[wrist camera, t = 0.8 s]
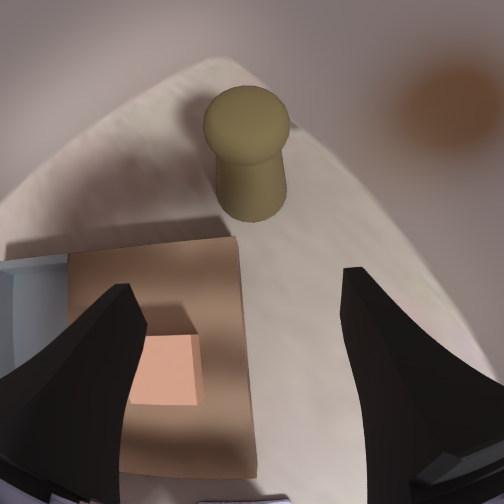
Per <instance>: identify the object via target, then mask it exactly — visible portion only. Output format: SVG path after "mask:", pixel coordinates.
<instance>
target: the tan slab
mask: <svg viewBox="0 0 504 504" xmlns="http://www.w3.org/2000/svg"><path fill="white" fill-rule="evenodd" d="M122 283H130V286H131V288H132V290H133V293H134V295H135V297H136V299H137V302H138V304H139V306H140V308H141V311H142V313H143V315H144V317H145V319H146V322H147V324H148V326H147V332H146V336H171V335H195V334H199V344H200V356H201V367H202V378H203V388H204V398H203V399H202V401H201V402H200V403H199V404H198V405H150V404H131V402H130V399H129V400H127V404H126V409H125V414H124V420H123V427H122V434H121V444H120V457H119V472H125V473H132V474H140V475H148V476H158V477H169V478H185V479H252V478H257V454H256V443H255V433H254V423H253V412H252V401H251V391H250V380H249V368H248V357H247V346H246V334H245V322H244V310H243V298H242V286H241V273H240V261H239V248H238V244H237V240H236V237H235V236H232V237H221V238H211V239H200V240H190V241H180V242H170V243H161V244H151V245H142V246H132V247H123V248H114V249H105V250H96V251H87V252H78V253H70V254H69V258H68V284H67V318H68V326H70V325H71V324H72V323H73V322H74V321H75V320H76V319H77V318H78V317H79V316H80V315H81V314H82V313H83V312H84V311H85V310H86V309H87V308H89V307H90V306H91V305H92V304H93V303H94V302H95V301H96V300H97V299H98V298H99V297H100V296H101V295H102V294H103V293H105V292H106V291H107V290H108V289H109V288H110V287H112V286H113V285H114V284H122Z"/></svg>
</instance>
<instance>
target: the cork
mask: <svg viewBox="0 0 504 504" xmlns="http://www.w3.org/2000/svg"><path fill="white" fill-rule="evenodd" d="M203 129H204V134H205V138H206V142H207V143H208V145H209V146H210V148H211V149H212V151H213V152H214V153H215V154H216V173H217V196H218V201H219V203H220V205H221V207H222V208H223V210H224V211H225V212H226V213H227V214H229V215H230V216H231V217H232V218H235V219H237V220H240V221H242V222H253V223H254V222H259V221H263V220H266V219H268V218H270V217H272V216H273V215H275V214H276V213H277V212H278V211H279V210H280V209H281V207H282V206H283V204H284V201H285V199H286V192H287V186H286V179H285V172H284V165H283V158H282V152H281V150H282V148H283V147H284V145H285V143H286V141H287V138H288V136H289V131H290V118H289V115H288V112H287V109H286V107H285V105H284V104H283V102H282V101H281V100H280V99H279V98H278V97H277V96H276V95H275V94H273V93H272V92H270V91H268V90H267V89H264V88H260V87H257V86H239V87H233V88H231V89H228V90H226V91H224V92H222V93H221V94H219V95H218V96H217V97H216V98H214V100H213V101H212V102H211V104H210V105H209V107H208V108H207V110H206V112H205V117H204V122H203Z"/></svg>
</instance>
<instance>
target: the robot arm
mask: <svg viewBox="0 0 504 504" xmlns="http://www.w3.org/2000/svg"><path fill="white" fill-rule="evenodd" d="M340 319H341V325H342V332H343V338H344V343H345V346H346V350H347V354H348V357H349V361H350V365H351V368H352V372H353V376H354V380H355V383H356V387H357V391H358V395H359V400H360V405H361V411H362V419H363V427H364V437H365V448H366V462H367V504H504V386H503V385H501V384H499V383H497V382H496V381H494V380H492V379H490V378H489V377H487V376H485V375H483V374H482V373H480V372H479V371H477V370H475V369H474V368H472V367H471V366H469V365H468V364H466V363H465V362H463V361H462V360H461V359H459V358H458V357H456V356H455V355H453V354H452V353H451V352H449V351H448V350H447V349H445V348H444V347H443V346H442V345H440V344H439V343H438V342H437V341H436V340H434V339H433V338H432V337H431V336H429V335H428V334H427V333H426V332H425V331H424V330H423V329H421V328H420V327H419V326H418V325H417V324H416V323H415V322H414V321H413V320H412V319H411V318H410V317H409V316H408V315H407V314H406V313H405V312H404V311H403V310H402V309H401V308H400V307H399V306H398V305H397V304H396V303H395V302H394V301H393V300H392V299H391V298H390V297H389V296H388V295H387V293H386V292H385V291H384V290H383V289H382V288H381V287H380V286H379V285H378V284H377V282H376V281H375V280H374V279H373V278H372V277H371V276H370V275H369V274H368V272H367V271H366V270H365V269H364V268H363V267H352V268H344V269H343V283H342V295H341V306H340ZM147 326H148V324H147V322H146V319H145V317H144V315H143V313H142V311H141V308H140V306H139V304H138V302H137V299H136V297H135V295H134V293H133V290H132V288H131V286H130V283H122V284H114V285H113V286H112V287H110V288H109V289H108V290H107V291H106V292H105V293H103V294H102V295H101V296H100V297H99V298H98V299H97V300H96V301H95V302H94V303H93V304H92V305H91V306H90V307H89V308H87V309H86V310H85V311H84V312H83V313H82V314H81V315H80V316H79V317H78V318H77V319H76V320H75V321H74V322H73V323H72V324H71V325H70V326H68V327H67V328H66V329H65V330H64V331H63V332H62V333H61V334H60V335H59V336H58V337H56V338H55V339H54V340H53V341H52V342H51V343H50V344H48V345H47V346H46V347H45V348H44V349H42V350H41V351H40V352H39V353H37V354H36V355H35V356H33V357H32V358H31V359H29V360H28V361H26V362H25V363H24V364H22V365H21V366H19V367H18V368H16V369H15V370H13V371H12V372H10V373H9V374H7V375H5V376H4V377H2V378H0V504H79V502H80V501H83V502H86V503H90V501H93V502H97V503H100V504H119V503H120V493H119V457H120V444H121V434H122V427H123V420H124V414H125V409H126V404H127V400H128V397H129V394H130V390H131V387H132V384H133V380H134V377H135V374H136V371H137V368H138V365H139V361H140V358H141V355H142V352H143V348H144V343H145V338H146V332H147ZM198 504H291V501H290V500H288V499H284V500H273V501H259V502H200V503H198Z"/></svg>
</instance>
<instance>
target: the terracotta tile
mask: <svg viewBox="0 0 504 504" xmlns="http://www.w3.org/2000/svg"><path fill="white" fill-rule="evenodd" d="M203 398H204V388H203V378H202V367H201V356H200V344H199V334H195V335H171V336H146V338H145V343H144V348H143V352H142V355H141V358H140V361H139V365H138V368H137V371H136V374H135V377H134V380H133V384H132V387H131V390H130V402H131V404H150V405H198V404H199V403H200V402H201V401H202V399H203Z"/></svg>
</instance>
